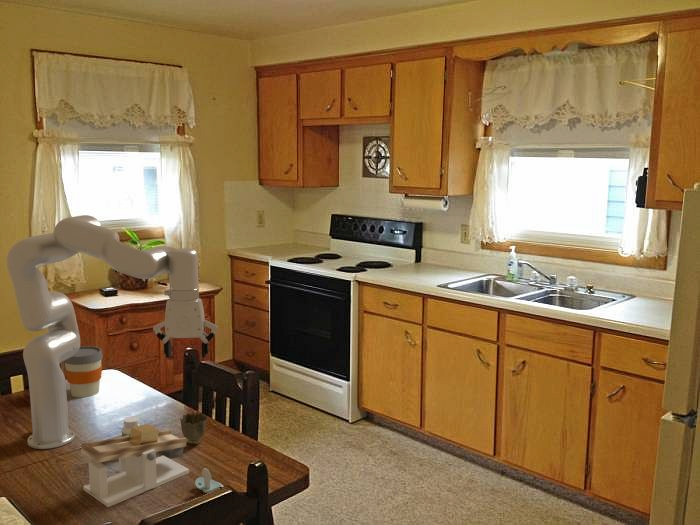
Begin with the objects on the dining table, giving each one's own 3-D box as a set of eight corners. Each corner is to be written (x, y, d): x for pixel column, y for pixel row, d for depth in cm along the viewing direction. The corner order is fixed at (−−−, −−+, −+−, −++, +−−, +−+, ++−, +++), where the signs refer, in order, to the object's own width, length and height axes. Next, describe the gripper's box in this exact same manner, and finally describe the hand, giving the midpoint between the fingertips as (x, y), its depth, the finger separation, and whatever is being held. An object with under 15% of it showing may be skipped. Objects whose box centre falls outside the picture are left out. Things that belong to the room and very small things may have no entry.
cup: (200, 450, 187) (200, 423, 185) (176, 447, 188) (175, 421, 187) (211, 438, 194) (210, 413, 193) (188, 436, 195) (187, 411, 194)
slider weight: (129, 441, 168) (131, 426, 168) (146, 439, 172) (148, 424, 172) (139, 447, 165) (141, 432, 165) (157, 444, 169) (159, 429, 169)
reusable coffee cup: (80, 402, 221) (77, 359, 218) (58, 394, 228) (55, 352, 225) (112, 391, 231) (109, 350, 229) (89, 383, 238) (87, 343, 235)
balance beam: (95, 475, 155) (98, 453, 155) (79, 464, 160) (81, 443, 160) (184, 457, 174) (187, 438, 174) (167, 448, 179) (169, 429, 179)
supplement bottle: (121, 456, 182) (119, 423, 181) (124, 448, 187) (122, 415, 186) (141, 455, 183) (139, 422, 181) (144, 447, 188) (142, 414, 187)
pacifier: (212, 481, 170) (192, 488, 166) (212, 458, 169) (192, 465, 165) (229, 491, 165) (209, 499, 161) (229, 467, 164) (209, 475, 160)
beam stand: (110, 508, 156) (108, 469, 154) (81, 488, 165) (79, 451, 163) (191, 474, 173) (190, 438, 171) (161, 457, 182) (160, 423, 180)
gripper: (148, 297, 172) (150, 360, 175) (214, 297, 173) (216, 360, 175) (155, 291, 180) (158, 352, 182) (219, 291, 180) (220, 352, 183)
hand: (186, 356), depth 179 cm, fingers open, 9 cm apart
